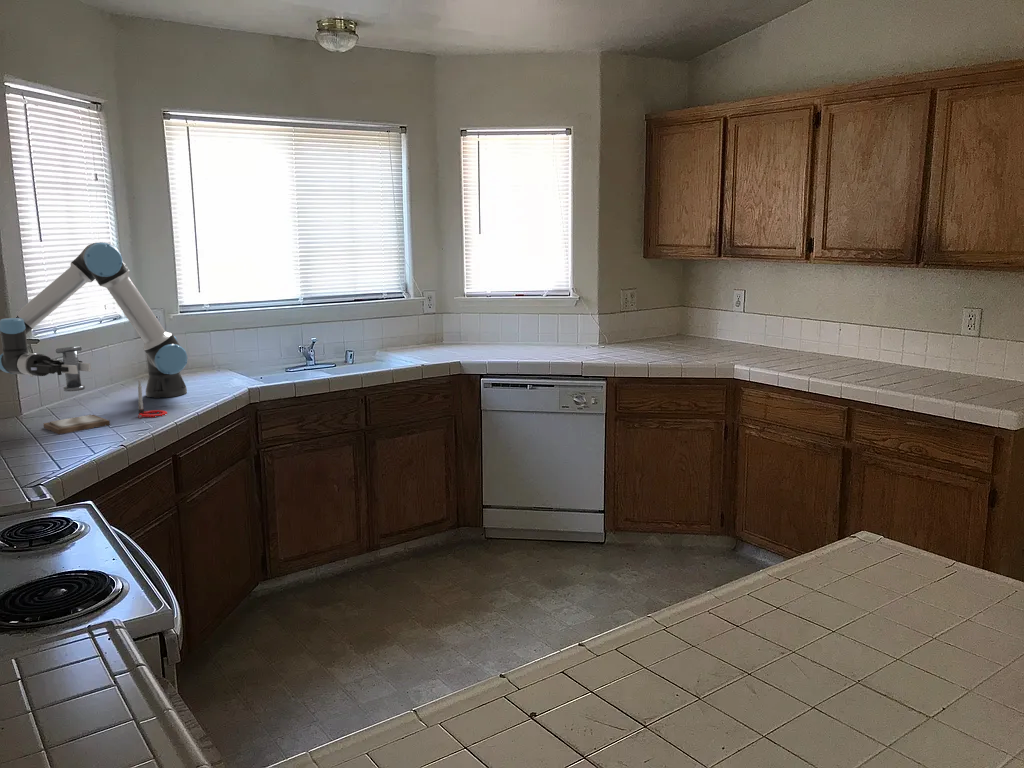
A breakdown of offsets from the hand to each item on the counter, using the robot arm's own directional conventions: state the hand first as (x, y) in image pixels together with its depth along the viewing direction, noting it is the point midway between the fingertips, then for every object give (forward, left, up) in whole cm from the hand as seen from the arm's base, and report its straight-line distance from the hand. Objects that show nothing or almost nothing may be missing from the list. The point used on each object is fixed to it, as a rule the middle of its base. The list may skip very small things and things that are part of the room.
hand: (83, 368), depth 275 cm
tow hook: (-21, +1, -20) cm, 29 cm away
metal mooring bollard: (+2, -5, -7) cm, 9 cm away
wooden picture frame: (+3, -3, -20) cm, 20 cm away
